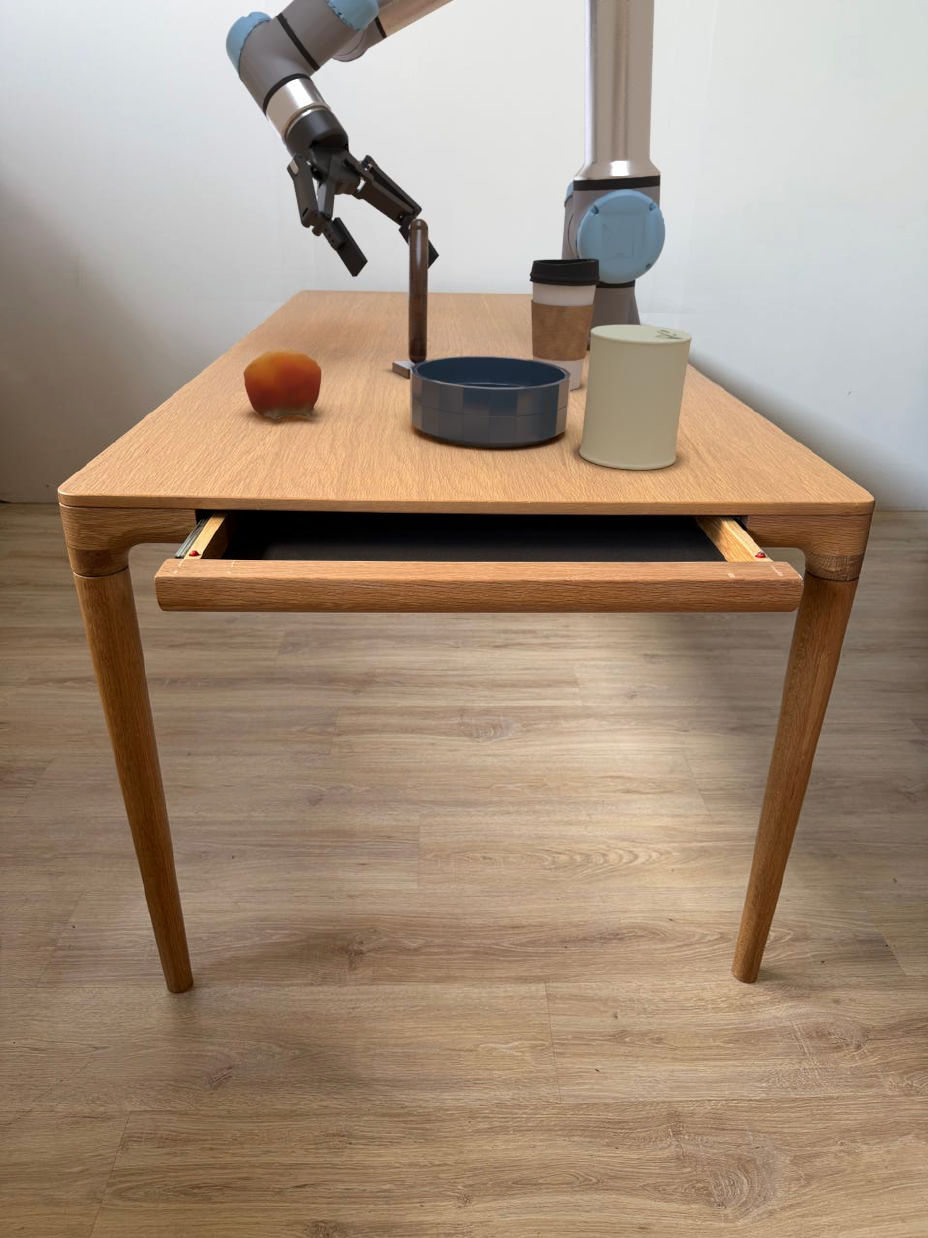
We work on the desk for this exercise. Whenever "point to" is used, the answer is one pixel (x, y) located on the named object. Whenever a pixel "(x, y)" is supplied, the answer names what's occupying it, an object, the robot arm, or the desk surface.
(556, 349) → the coffee cup
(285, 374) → the fruit
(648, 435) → the can
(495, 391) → the bowl
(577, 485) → the desk surface
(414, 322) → the stick
